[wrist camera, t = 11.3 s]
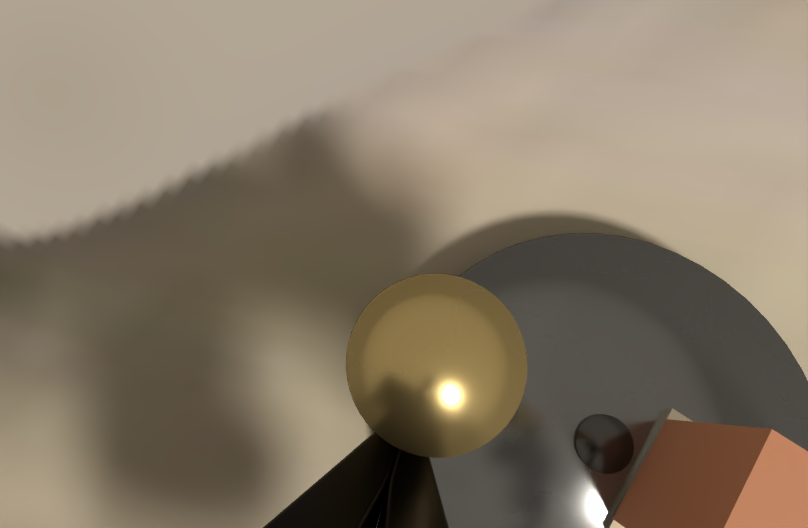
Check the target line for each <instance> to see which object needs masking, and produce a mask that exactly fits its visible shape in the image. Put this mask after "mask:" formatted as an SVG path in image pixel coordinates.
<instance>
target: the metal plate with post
mask: <svg viewBox="0 0 808 528" xmlns="http://www.w3.org/2000/svg"><path fill="white" fill-rule="evenodd" d="M346 371H347V380H348V385H349V389H350V392H351V395H352V398H353V401H354V403H355V405H356V407H357V409H358V411H359V413H360V414H361V416H362V417H363V418H364V420H365V421H366V423H367V424H368V425H369V426H370V427H371V428H372V429H373V431H374V432H375V433H377V434H378V435H379V436H380V437H381V438H383V439H384V440H385V441H387V442H388V443H390V444H391V445H393V446H395V447H396V448H399V449H401V450H403V451H405V452H408V453H411V454H415V455H418V456H424V457H430V461H431V464H432V468H433V472H434V475H435V479H436V483H437V486H438V490H439V494H440V497H441V501H442V505H443V508H444V512H445V516H446V519H447V523H448V527H449V528H624V527H623V526H622V525H620V524H619V523H617V522H616V521H614V520H613V517H614V516H615V514H616V512H617V510H618V508H619V506H620V504H621V503H622V501H623V499H624V497H625V495H626V493H627V491H628V490H629V488H630V486H631V484H632V482H633V480H634V478H635V477H636V475H637V473H638V471H639V469H640V467H641V465H642V463H643V462H644V460H645V458H646V456H647V454H648V452H649V450H650V449H651V447H652V445H653V443H654V441H655V439H656V437H657V436H658V434H659V432H660V430H661V428H662V426H663V424H664V423H665V421H666V419H670V420H681V421H692V422H702V423H713V424H724V425H734V426H745V427H756V428H767V429H773V430H774V431H776V432H778V433H779V434H781V435H782V436H784V437H786V438H787V439H789V440H790V441H792V442H794V443H795V444H797V445H798V446H800V447H802V448H803V449H805V450H806V451H808V381H807V379H806V377H805V375H804V372H803V371H802V369H801V367H800V366H799V364H798V362H797V361H796V359H795V358H794V356H793V354H792V353H791V351H790V349H789V348H788V346H787V345H786V343H785V342H784V341H783V340H782V338H781V337H780V336H779V334H778V333H777V332H776V331H775V329H774V328H773V327H772V325H771V324H770V323H769V322H768V320H767V319H766V318H765V317H764V316H763V315H762V314H761V313H760V312H759V311H758V310H757V309H756V308H755V307H754V306H753V305H752V304H751V303H750V302H749V301H748V300H747V299H746V298H745V297H743V296H742V295H741V294H740V293H738V292H737V291H736V290H735V289H734V288H732V287H731V286H730V285H729V284H727V283H726V282H725V281H724V280H722V279H721V278H719V277H718V276H716V275H715V274H713V273H711V272H710V271H708V270H707V269H705V268H704V267H702V266H701V265H699V264H697V263H695V262H693V261H691V260H689V259H687V258H685V257H683V256H681V255H679V254H677V253H675V252H672V251H670V250H667V249H664V248H661V247H659V246H656V245H653V244H650V243H647V242H643V241H639V240H635V239H630V238H626V237H622V236H613V235H605V234H596V233H585V234H562V235H555V236H547V237H542V238H538V239H534V240H530V241H526V242H523V243H519V244H516V245H514V246H511V247H509V248H506V249H504V250H502V251H499V252H497V253H494V254H493V255H491V256H489V257H487V258H486V259H484V260H482V261H480V262H479V263H477V264H475V265H473V266H472V267H471V268H469V269H468V270H467V271H465V272H464V273H463V274H461V275H460V276H459V277H458V276H454V275H448V274H423V275H417V276H413V277H409V278H406V279H404V280H401V281H399V282H396V283H395V284H393V285H391V286H389V287H388V288H386V289H385V290H383V291H382V292H381V293H379V294H378V295H377V296H376V297H375V298H374V299H373V300H372V301H371V302H370V303H369V304H368V305H367V307H366V308H365V309H364V310H363V312H362V313H361V315H360V317H359V318H358V320H357V322H356V324H355V326H354V328H353V331H352V333H351V337H350V340H349V343H348V349H347V357H346Z"/></svg>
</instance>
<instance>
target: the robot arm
mask: <svg viewBox="0 0 808 528" xmlns="http://www.w3.org/2000/svg"><path fill="white" fill-rule="evenodd" d="M378 520H379V521H378ZM377 524H378V525H377ZM376 527H377V528H449V527H448V523H447V519H446V516H445V512H444V508H443V505H442V501H441V497H440V494H439V490H438V486H437V483H436V479H435V475H434V472H433V468H432V464H431V461H430V457H424V456H418V455H415V454H411V453H408V452H405V451H403V450H401V449H399V448H396V447H395V446H393V445H391V444H390V443H388V442H387V441H385V440H384V439H383V438H381V437H380V436H379V435H378V434H377V433H375V432H374V433H373V434H372V435H371V436H370V437H368V438H367V439H366V440H365V441H364V442H363V443H361V444H360V445H359V446H358V447H357V448H356V449H354V450H353V451H352V452H351V453H350V454H349V455H347V456H346V457H345V458H344V459H343V460H342V461H340V462H339V463H338V464H337V465H336V466H335V467H333V468H332V469H331V470H330V471H329V472H328V473H326V474H325V475H324V476H323V477H322V478H321V479H319V480H318V481H317V482H316V483H315V484H314V485H312V486H311V487H310V488H309V489H308V490H307V491H305V492H304V493H303V494H302V495H301V496H300V497H298V498H297V499H296V500H295V501H294V502H293V503H291V504H290V505H289V506H288V507H287V508H286V509H284V510H283V511H282V512H281V513H280V514H279V515H277V516H276V517H275V518H274V519H273V520H272V521H270V522H269V523H268V524H267V525H266V526H265V527H263V528H376Z"/></svg>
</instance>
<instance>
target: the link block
mask: <svg viewBox="0 0 808 528" xmlns="http://www.w3.org/2000/svg"><path fill="white" fill-rule="evenodd" d="M613 520H614V521H616V522H617V523H619V524H620V525H622V526H623V527H624V528H808V451H806V450H805V449H803V448H802V447H800V446H798V445H797V444H795V443H794V442H792V441H790V440H789V439H787V438H786V437H784V436H782V435H781V434H779V433H778V432H776V431H774V430H773V429H767V428H756V427H745V426H734V425H724V424H713V423H702V422H692V421H681V420H670V419H666V421H665V423H664V424H663V426H662V428H661V430H660V432H659V434H658V436H657V437H656V439H655V441H654V443H653V445H652V447H651V449H650V450H649V452H648V454H647V456H646V458H645V460H644V462H643V463H642V465H641V467H640V469H639V471H638V473H637V475H636V477H635V478H634V480H633V482H632V484H631V486H630V488H629V490H628V491H627V493H626V495H625V497H624V499H623V501H622V503H621V504H620V506H619V508H618V510H617V512H616V514H615V516H614V517H613Z"/></svg>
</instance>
